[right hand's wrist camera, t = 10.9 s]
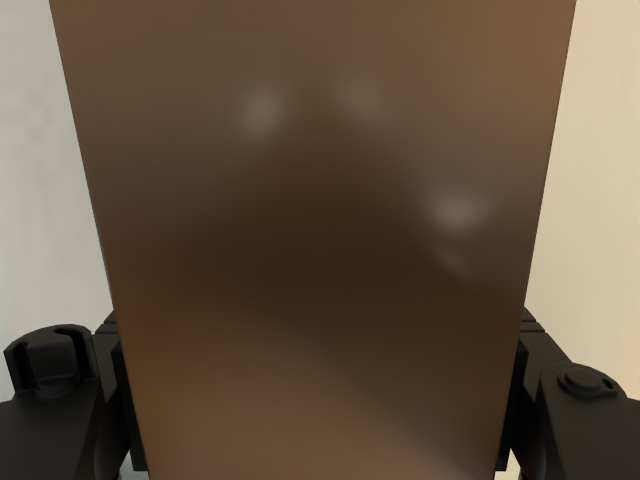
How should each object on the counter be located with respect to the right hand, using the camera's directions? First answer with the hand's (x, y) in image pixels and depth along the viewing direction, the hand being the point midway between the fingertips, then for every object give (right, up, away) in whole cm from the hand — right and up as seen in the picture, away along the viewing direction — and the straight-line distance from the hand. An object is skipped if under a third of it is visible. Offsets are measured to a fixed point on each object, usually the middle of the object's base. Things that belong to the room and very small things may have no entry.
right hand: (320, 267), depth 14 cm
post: (0, +25, -9) cm, 27 cm away
